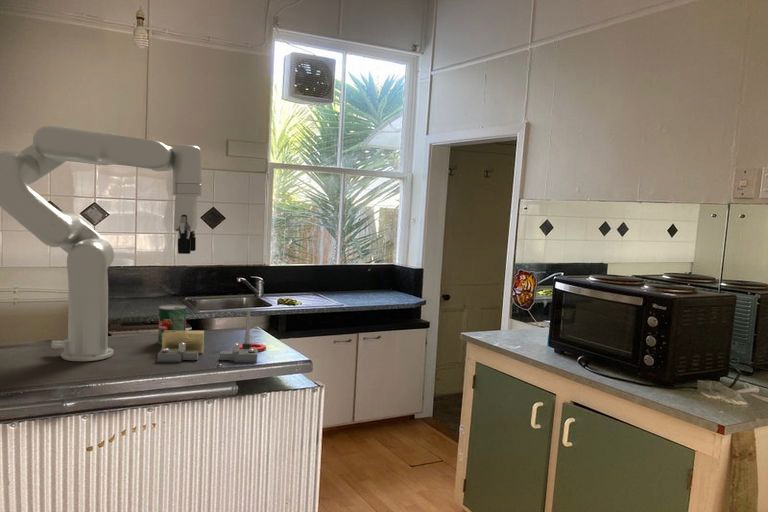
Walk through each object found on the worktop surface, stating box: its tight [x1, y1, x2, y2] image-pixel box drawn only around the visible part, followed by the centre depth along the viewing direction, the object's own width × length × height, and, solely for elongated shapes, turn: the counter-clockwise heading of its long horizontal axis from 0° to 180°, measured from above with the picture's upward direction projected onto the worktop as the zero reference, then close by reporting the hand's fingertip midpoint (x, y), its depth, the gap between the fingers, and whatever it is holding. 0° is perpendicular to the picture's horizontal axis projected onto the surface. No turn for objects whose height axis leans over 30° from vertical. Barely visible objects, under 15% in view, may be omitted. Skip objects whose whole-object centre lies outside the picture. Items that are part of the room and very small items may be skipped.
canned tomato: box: [157, 304, 187, 345], centre depth 177 cm, size 8×8×11 cm
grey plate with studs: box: [157, 342, 258, 363], centre depth 161 cm, size 26×6×4 cm, turn 101°
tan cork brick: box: [161, 330, 205, 353], centre depth 167 cm, size 11×4×6 cm, turn 102°
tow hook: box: [239, 308, 267, 353], centre depth 174 cm, size 8×13×9 cm
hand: (187, 252), depth 162 cm, fingers open, 9 cm apart
